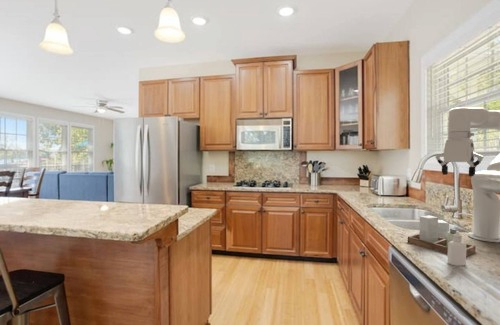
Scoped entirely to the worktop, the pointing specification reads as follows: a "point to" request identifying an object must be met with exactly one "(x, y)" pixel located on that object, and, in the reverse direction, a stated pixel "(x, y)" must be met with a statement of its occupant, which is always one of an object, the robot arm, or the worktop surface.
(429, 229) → the skincare box
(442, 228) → the skincare box
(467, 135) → the robot arm
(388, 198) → the worktop surface
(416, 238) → the wooden frame
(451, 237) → the sage bottle
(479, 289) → the worktop surface
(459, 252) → the eye dropper bottle
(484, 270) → the worktop surface
